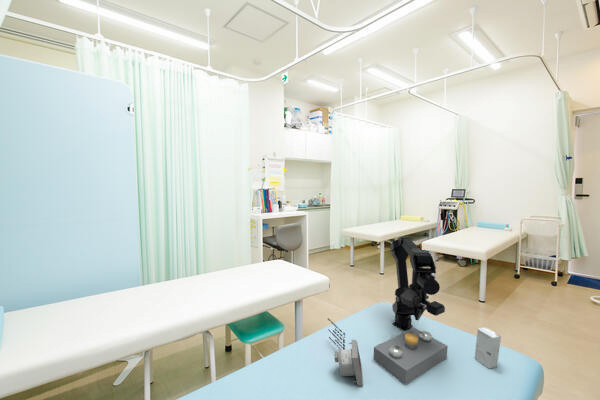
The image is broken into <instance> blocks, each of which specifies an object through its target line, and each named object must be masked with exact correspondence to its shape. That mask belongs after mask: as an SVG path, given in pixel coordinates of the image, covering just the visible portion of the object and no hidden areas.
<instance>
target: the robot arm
mask: <svg viewBox="0 0 600 400" xmlns="http://www.w3.org/2000/svg"><path fill="white" fill-rule="evenodd" d="M389 250H390V252H391V256H392V258H393V259H394V261H395V264H396V265H395V266H396V267H395V268H396V277H397V288H396V289H395V291H394V296H395V299H394V302H393V303H392V312H393V313H394V321H393V322H392V325H394V326H395V327H398V328H399V329H401V330H402V331H408V330H410V329H412V327H413V325H412V320H413V319H412V316H414V319H415V321H419V320H420V318H421V317H422V316H423V314H424V312H425V311H427V313H429V314H431V315H433V316H436V317H437V316H439V315H441V314H443V313H446V307H445V305H444V304H443V303H440V302H438V301H436V300H434V301H430V300H428V299H429V295H430V296H433V295H437V294H438V293H439V291H440V289H441V288H440V287H441V286H440V283H439V282H438V280H436V279H435V278H436V277H435V276H434V275H433V274H436V273H437V271H436V270H437V267H436V264H435V261H434V259H433V256H432V254H431V252H429V251H427V250H423V249H421V248H419V246H417V244H416V243H415V242H414V240H412V237H409V236H400V237H398V238H397V239H396V240H393V241H392V242H391V244H390V245H389ZM408 258H409V262H410V266H411V268H412V270H411V271H412V275H411V283H410V284H409V279H408V277H409V276H408V268H407V259H408ZM413 328H414V327H413Z"/></svg>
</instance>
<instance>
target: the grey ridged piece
mask: <svg viewBox="0 0 600 400" xmlns="http://www.w3.org/2000/svg"><path fill="white" fill-rule="evenodd" d="M327 320H328V321H329V322H330V323H331V324H332V325H334V327H335V328H334V329H333V330H332V331H331V330H330V329H328V330H327V331H329V332H330V333H331V335H333V337H334V338H336V339H332V338H331V336H329V337H328V338H329V340H330V341H331V342H333V344H334V345H335V346H336V347H337V348H338V349H337V352H336V351H334V363H338V369H339V372H340V376H341V377H351V376H355V379H356V380H354V381H352V383H354V384H355V383H356V385H357V387H360V386H361V387H362V386H363V385H364V381H363V379H364V378H363V367H362V361H361V356H360V351H359V346H358V341H357V339H351V342H348V343H347V344H348V345H351V348H349V349H345V347H346V344H345V343H346V342H345V338H346V333H345V332H343V331H342V329H340V328H339V327H338V326H337V325H336V324H335V323H334V322H333V321H332V320H331V319H329V318H327ZM338 330H339V331H338ZM341 333H342V334H341ZM343 335H344V336H343Z"/></svg>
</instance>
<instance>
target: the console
mask: <svg viewBox="0 0 600 400" xmlns="http://www.w3.org/2000/svg"><path fill="white" fill-rule="evenodd" d="M420 331H421V330H420V329H418V328H416V327H413V328H410V329H408V330H405V332H403V333H400V334H398V335H396V336H394V337H391V338H390V339H388V340H386V341H383V342H381V343H379V344H377V345H375V346H374V347H373V361H374V362H376V363H377V364H378V365H380V366H381V367H382V368H384V369H385V370H386V371H387V372H389V373H390V374H391V375H392V376H394V377H395V378H396V379H398V380H399V381H400V382H401V383H402V384H404V385H407V384H409V383H411V382H412V381H414V380H416V379H417V378H418V377H420V376H422V375H423V374H424V373H426V372H428V371H429V370H431V369H432V368H434V367H436V366H437V365H438V364H440V363H442V362H443V361H445V360H446V359H447V358H448V345H447V344H445V343H444V342H442V341H439V340H438V339H436V338H434V337H432V336H431V342H424V341H421V340H420V339H419V332H420ZM406 333H413V334H415V335H416V336H417V337H418V344H417V345H416V348H415V349H414V350H411V349H409V348H408V347H406V341H405V334H406ZM392 345H396V346H399V347H400V348H401V349H402V358H400V359H396V358H393V357H391V356H390V354H389V347H390V346H392Z"/></svg>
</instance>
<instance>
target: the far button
mask: <svg viewBox="0 0 600 400" xmlns="http://www.w3.org/2000/svg"><path fill="white" fill-rule="evenodd" d="M431 337H432V334H431V333H430V332H429V331H426V330H420V332H419V339H420V340H421V341H424V342H431Z"/></svg>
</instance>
